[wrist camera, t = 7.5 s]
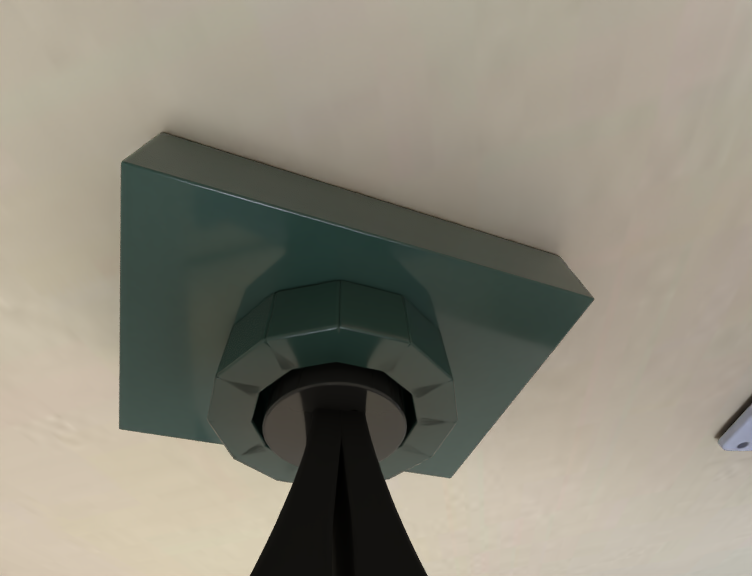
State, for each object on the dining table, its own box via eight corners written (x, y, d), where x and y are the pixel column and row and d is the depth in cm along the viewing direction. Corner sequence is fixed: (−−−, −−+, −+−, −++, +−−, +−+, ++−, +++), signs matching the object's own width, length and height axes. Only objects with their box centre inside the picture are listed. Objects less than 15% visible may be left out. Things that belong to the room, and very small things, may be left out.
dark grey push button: (419, 346, 13) (430, 400, 11) (375, 425, 15) (378, 481, 13) (288, 316, 12) (278, 370, 10) (261, 406, 14) (249, 462, 12)
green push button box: (560, 255, 14) (633, 345, 11) (440, 428, 20) (461, 528, 16) (161, 131, 11) (70, 196, 8) (146, 376, 17) (89, 484, 13)
